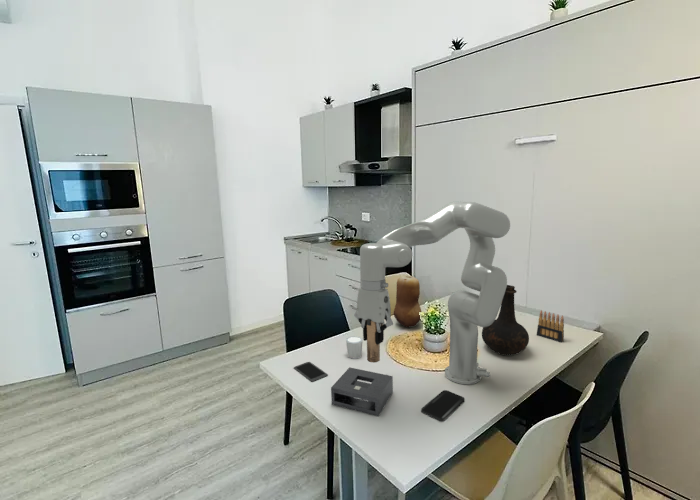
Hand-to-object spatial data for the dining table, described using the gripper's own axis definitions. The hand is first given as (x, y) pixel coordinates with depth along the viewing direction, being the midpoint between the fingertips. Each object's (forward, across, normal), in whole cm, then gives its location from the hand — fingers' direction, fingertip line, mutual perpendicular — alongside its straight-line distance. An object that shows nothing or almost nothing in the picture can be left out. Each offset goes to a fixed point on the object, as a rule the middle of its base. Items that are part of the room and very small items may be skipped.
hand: (373, 340), depth 113 cm
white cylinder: (+22, +26, -23) cm, 41 cm away
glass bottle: (+21, -22, -62) cm, 70 cm away
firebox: (+22, +4, 0) cm, 22 cm away
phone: (+22, -18, -12) cm, 31 cm away
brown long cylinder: (+6, 0, 0) cm, 6 cm away
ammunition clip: (+21, -35, -86) cm, 95 cm away
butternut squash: (+21, +24, -63) cm, 71 cm away
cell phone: (+22, +31, -2) cm, 38 cm away
